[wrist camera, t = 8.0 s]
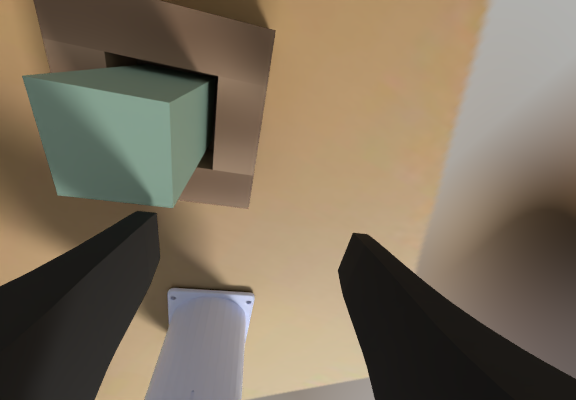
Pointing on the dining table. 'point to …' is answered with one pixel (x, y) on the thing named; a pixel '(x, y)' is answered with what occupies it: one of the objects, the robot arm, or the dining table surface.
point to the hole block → (183, 57)
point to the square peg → (123, 130)
